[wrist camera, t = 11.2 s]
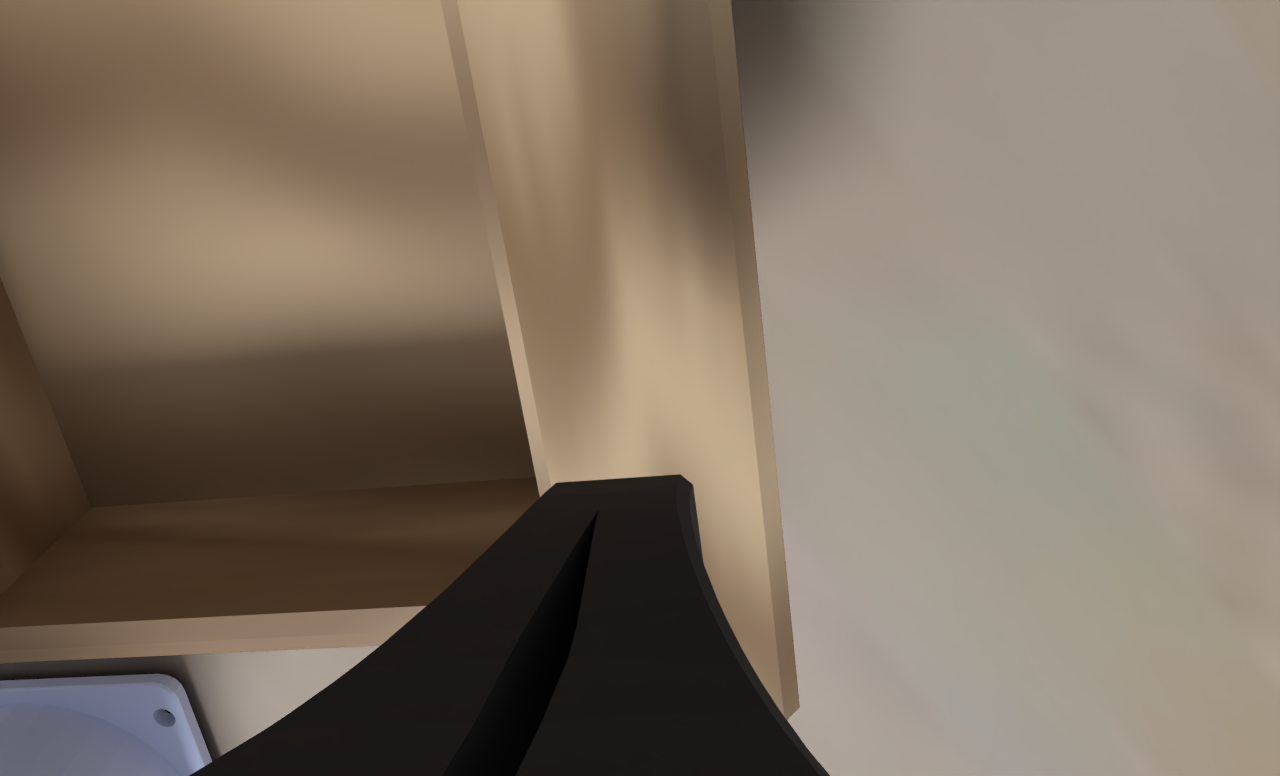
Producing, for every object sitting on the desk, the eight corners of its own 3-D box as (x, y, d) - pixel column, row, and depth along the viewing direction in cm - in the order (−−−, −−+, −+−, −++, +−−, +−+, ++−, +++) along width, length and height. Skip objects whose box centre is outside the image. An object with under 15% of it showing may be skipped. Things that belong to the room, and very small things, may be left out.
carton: (627, 500, 23) (597, 639, 19) (90, 534, 25) (-44, 668, 20) (462, -521, 16) (357, -649, 12) (-268, -366, 18) (-578, -434, 14)
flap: (594, 615, 18) (799, 707, 15) (578, 626, 18) (784, 722, 15) (375, -562, 12) (659, -740, 9) (347, -567, 12) (630, -751, 9)
